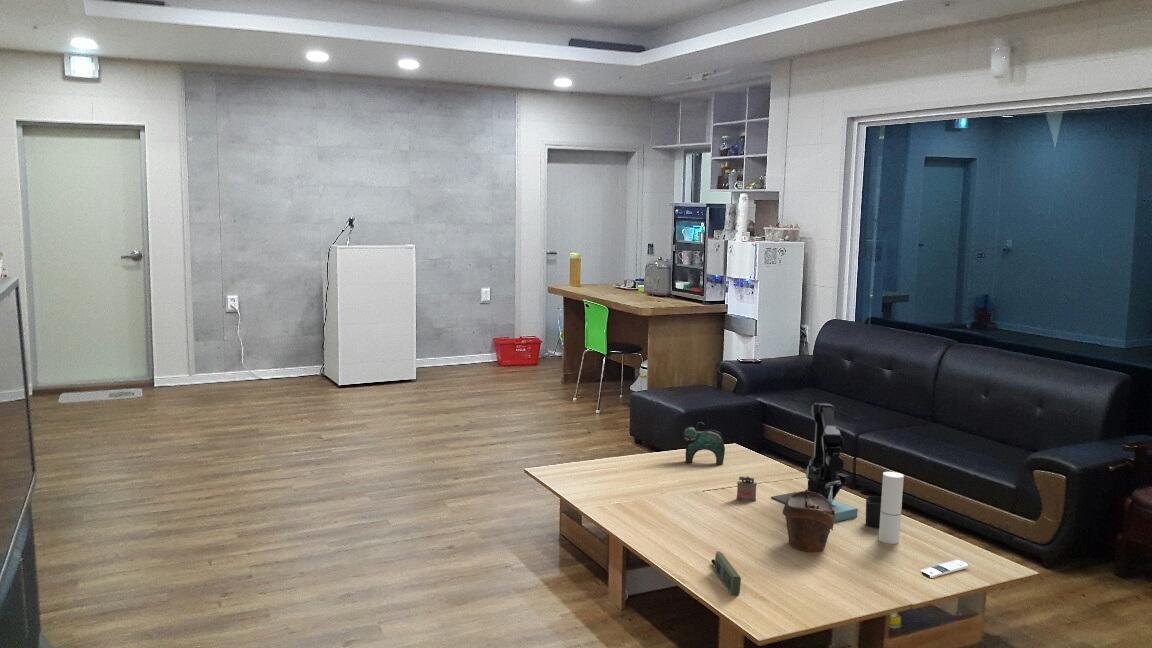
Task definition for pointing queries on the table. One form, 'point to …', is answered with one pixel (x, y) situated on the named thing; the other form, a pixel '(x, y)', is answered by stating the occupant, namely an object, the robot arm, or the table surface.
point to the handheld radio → (727, 574)
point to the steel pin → (830, 493)
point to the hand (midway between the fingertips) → (828, 501)
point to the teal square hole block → (843, 511)
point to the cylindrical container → (891, 507)
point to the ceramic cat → (703, 443)
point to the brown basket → (808, 520)
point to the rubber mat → (783, 497)
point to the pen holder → (873, 511)
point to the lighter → (746, 489)
